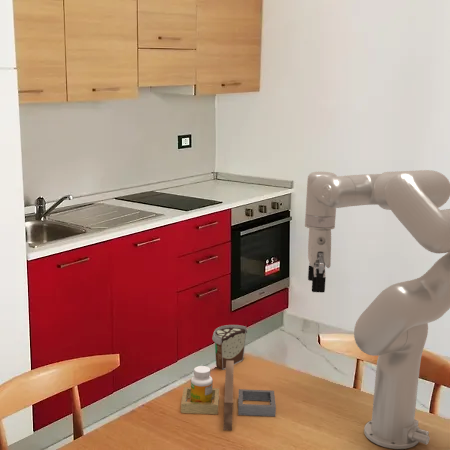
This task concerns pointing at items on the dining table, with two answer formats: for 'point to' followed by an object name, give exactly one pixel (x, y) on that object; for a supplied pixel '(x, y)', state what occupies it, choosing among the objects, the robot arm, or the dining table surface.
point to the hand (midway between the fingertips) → (316, 286)
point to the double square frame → (242, 408)
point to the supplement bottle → (201, 385)
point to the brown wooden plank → (228, 395)
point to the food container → (229, 344)
